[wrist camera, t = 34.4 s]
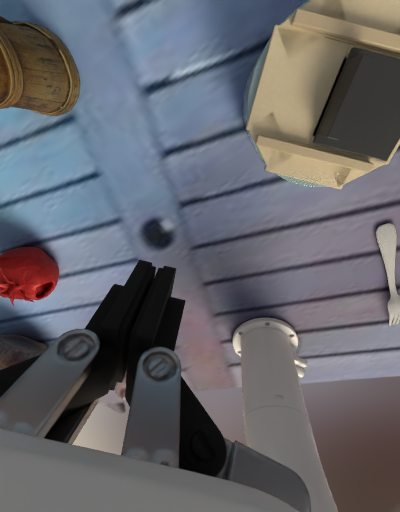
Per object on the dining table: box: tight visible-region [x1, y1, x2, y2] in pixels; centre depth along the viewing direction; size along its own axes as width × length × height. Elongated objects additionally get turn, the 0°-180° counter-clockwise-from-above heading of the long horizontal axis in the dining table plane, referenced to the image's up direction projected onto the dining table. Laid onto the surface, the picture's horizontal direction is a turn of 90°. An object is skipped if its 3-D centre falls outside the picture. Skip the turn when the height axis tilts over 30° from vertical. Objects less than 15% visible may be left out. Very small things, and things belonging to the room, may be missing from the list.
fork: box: [376, 223, 400, 326], centre depth 40 cm, size 3×21×3 cm, turn 24°
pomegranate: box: [0, 247, 59, 306], centre depth 43 cm, size 10×10×9 cm
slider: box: [313, 47, 400, 161], centre depth 19 cm, size 7×7×3 cm
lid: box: [246, 0, 400, 189], centre depth 21 cm, size 13×13×2 cm
